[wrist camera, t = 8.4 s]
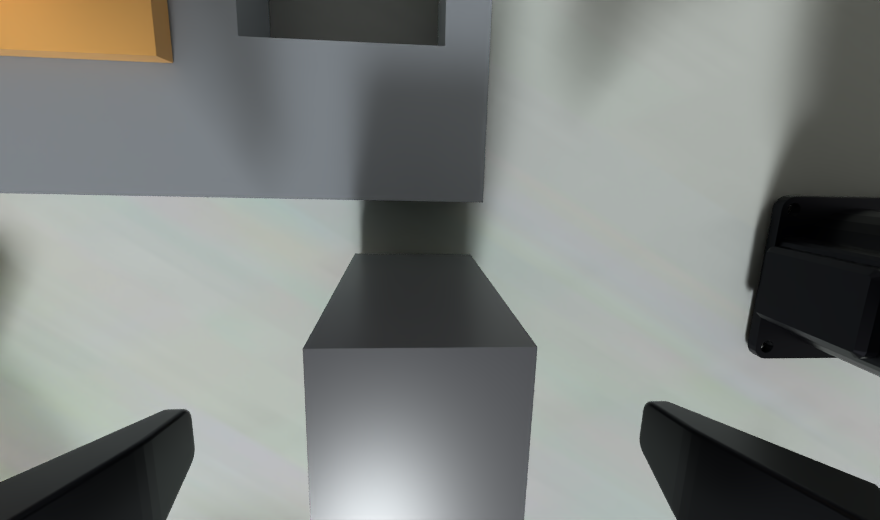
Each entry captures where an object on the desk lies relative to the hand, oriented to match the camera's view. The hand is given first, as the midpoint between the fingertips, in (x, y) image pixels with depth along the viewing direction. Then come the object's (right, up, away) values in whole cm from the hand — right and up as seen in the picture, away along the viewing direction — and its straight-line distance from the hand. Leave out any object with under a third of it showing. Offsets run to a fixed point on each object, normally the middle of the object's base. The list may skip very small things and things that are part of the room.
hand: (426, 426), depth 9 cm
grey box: (-1, +2, +8) cm, 8 cm away
